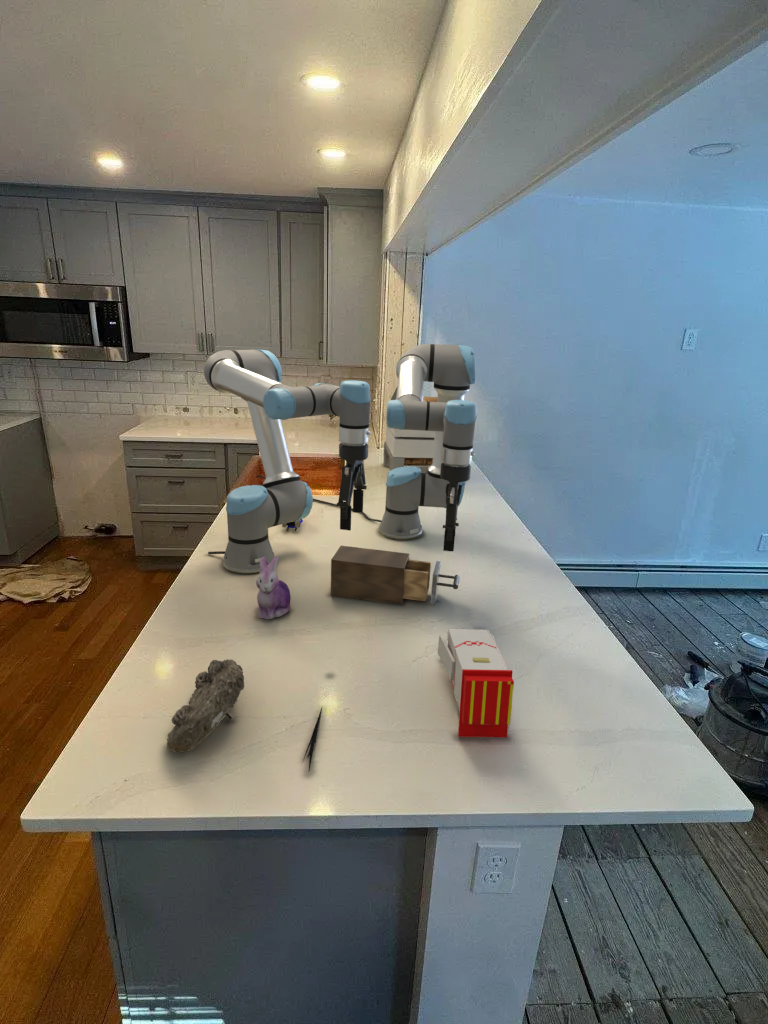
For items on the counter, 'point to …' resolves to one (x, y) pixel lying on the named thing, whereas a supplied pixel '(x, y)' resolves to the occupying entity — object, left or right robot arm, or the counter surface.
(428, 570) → the drawer
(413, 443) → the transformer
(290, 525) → the figurine character
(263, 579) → the figurine
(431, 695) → the counter surface
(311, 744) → the feather
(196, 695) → the fossil
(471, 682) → the toy
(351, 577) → the cabinet
